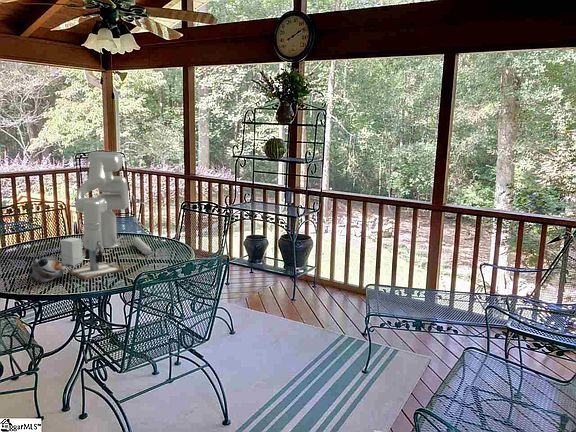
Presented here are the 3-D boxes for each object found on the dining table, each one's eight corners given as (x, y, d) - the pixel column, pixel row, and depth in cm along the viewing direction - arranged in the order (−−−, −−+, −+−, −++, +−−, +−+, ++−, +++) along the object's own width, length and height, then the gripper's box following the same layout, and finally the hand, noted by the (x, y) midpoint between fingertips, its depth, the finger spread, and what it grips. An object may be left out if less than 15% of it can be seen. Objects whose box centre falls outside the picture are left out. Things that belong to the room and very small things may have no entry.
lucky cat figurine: (64, 273, 235) (70, 251, 229) (60, 290, 225) (66, 268, 219) (30, 266, 229) (36, 244, 223) (24, 283, 219) (30, 260, 213)
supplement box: (83, 262, 254) (82, 238, 251) (72, 265, 247) (71, 241, 244) (71, 260, 256) (70, 237, 254) (61, 263, 249) (60, 240, 247)
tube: (153, 248, 272) (142, 237, 293) (144, 246, 269) (133, 235, 290) (150, 257, 272) (139, 246, 293) (141, 255, 269) (130, 244, 290)
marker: (88, 269, 237) (87, 245, 235) (96, 268, 241) (95, 243, 238) (92, 271, 235) (91, 247, 232) (100, 270, 238) (99, 245, 236)
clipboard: (68, 272, 236) (68, 269, 236) (106, 264, 251) (106, 261, 251) (85, 280, 226) (85, 276, 226) (123, 271, 241) (123, 267, 241)
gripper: (76, 224, 236) (77, 257, 239) (94, 230, 225) (96, 265, 229) (90, 222, 242) (92, 255, 245) (109, 228, 231) (110, 262, 234)
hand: (94, 260), depth 237 cm, fingers open, 9 cm apart
